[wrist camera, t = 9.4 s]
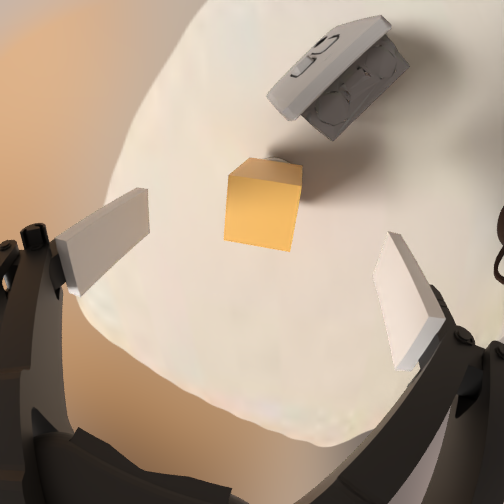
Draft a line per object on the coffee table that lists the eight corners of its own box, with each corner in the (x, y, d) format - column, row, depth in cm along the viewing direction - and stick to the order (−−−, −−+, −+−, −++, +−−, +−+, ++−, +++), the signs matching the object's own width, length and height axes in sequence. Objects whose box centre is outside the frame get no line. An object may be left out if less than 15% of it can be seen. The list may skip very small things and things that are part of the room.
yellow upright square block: (244, 206, 25) (223, 240, 19) (249, 157, 23) (228, 175, 16) (294, 214, 24) (290, 252, 18) (302, 165, 22) (301, 186, 16)
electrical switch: (335, 26, 17) (362, -7, 9) (378, 66, 18) (427, 57, 10) (264, 96, 21) (254, 95, 13) (309, 134, 23) (325, 156, 15)
